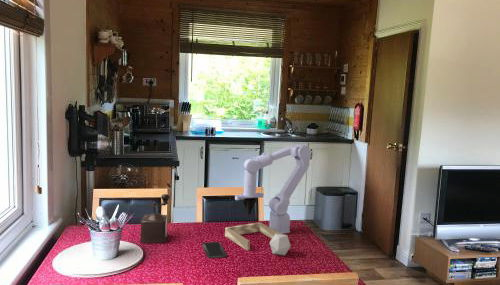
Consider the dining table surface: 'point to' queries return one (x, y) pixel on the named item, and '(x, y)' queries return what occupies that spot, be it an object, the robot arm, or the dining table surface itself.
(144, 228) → the coffee grinder box
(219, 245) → the phone
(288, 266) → the dining table surface
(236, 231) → the wooden frame
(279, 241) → the die
